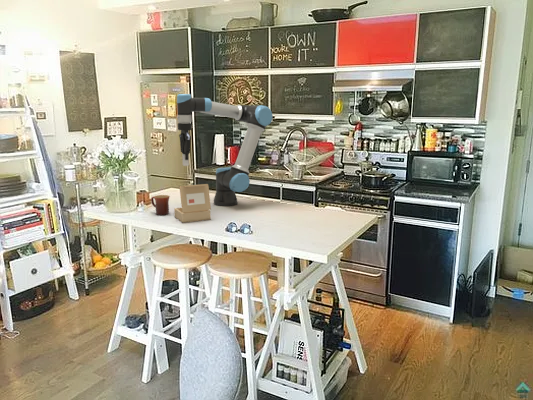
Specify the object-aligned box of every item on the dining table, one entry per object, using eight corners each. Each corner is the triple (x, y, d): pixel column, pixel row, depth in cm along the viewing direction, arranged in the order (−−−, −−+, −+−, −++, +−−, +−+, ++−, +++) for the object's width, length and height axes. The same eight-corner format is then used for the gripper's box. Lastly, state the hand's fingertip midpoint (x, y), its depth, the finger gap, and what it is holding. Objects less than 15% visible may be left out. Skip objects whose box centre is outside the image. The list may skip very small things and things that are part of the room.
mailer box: (201, 213, 259) (201, 205, 258) (210, 219, 247) (210, 210, 246) (174, 216, 252) (174, 208, 251) (182, 223, 240) (182, 214, 239)
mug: (173, 213, 260) (172, 195, 258) (163, 216, 252) (162, 198, 250) (157, 210, 265) (156, 193, 263) (147, 213, 258) (146, 196, 255)
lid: (207, 184, 246) (210, 183, 243) (210, 209, 246) (212, 209, 243) (179, 186, 239) (181, 185, 235) (182, 212, 238) (184, 212, 235)
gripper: (173, 122, 250) (175, 164, 255) (182, 123, 238) (183, 167, 243) (186, 122, 254) (187, 163, 259) (195, 123, 241) (196, 166, 247)
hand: (185, 165), depth 251 cm, fingers closed
